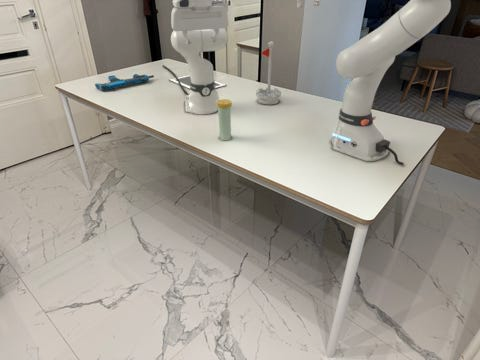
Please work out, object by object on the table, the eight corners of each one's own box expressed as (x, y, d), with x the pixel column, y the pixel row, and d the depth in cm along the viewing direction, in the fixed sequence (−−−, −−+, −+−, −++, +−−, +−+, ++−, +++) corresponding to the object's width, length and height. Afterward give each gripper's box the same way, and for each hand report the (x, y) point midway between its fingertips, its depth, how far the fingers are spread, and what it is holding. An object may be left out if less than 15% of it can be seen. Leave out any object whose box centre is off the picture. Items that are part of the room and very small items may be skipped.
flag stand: (273, 95, 188) (277, 37, 172) (284, 103, 178) (289, 42, 162) (252, 98, 184) (253, 39, 168) (262, 106, 174) (264, 45, 158)
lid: (234, 105, 137) (234, 101, 136) (225, 109, 133) (225, 105, 132) (222, 102, 140) (222, 98, 139) (214, 106, 136) (214, 102, 135)
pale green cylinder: (233, 137, 145) (232, 102, 136) (226, 141, 141) (225, 106, 133) (224, 134, 147) (222, 99, 138) (217, 138, 144) (215, 103, 135)
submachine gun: (139, 68, 224) (158, 74, 208) (140, 74, 226) (159, 81, 209) (87, 78, 206) (103, 86, 189) (89, 85, 208) (104, 93, 191)
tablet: (169, 80, 212) (169, 79, 212) (195, 74, 223) (195, 73, 223) (198, 92, 192) (198, 92, 192) (226, 85, 203) (226, 84, 203)
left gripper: (224, -2, 121) (225, 39, 129) (167, 0, 115) (172, 43, 123) (230, -1, 116) (231, 42, 124) (171, 2, 110) (175, 46, 118)
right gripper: (297, -35, 119) (294, 9, 127) (336, -36, 129) (331, 5, 137) (285, -35, 124) (283, 7, 131) (324, -36, 134) (319, 4, 141)
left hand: (201, 43), depth 123 cm, fingers open, 8 cm apart
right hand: (308, 6), depth 134 cm, fingers open, 8 cm apart
